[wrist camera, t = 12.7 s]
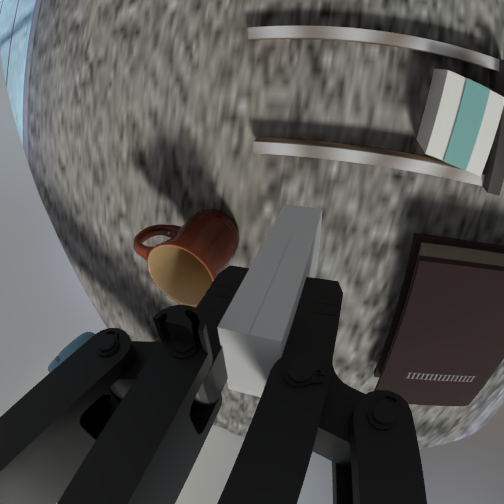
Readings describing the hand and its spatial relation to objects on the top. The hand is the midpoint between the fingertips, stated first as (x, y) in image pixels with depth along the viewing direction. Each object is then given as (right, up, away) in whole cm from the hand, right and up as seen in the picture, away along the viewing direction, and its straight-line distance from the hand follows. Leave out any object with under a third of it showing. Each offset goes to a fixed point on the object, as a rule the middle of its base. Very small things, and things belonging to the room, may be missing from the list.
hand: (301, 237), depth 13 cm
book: (+27, -11, +26) cm, 39 cm away
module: (+18, +13, +12) cm, 25 cm away
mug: (-8, +3, +30) cm, 31 cm away
